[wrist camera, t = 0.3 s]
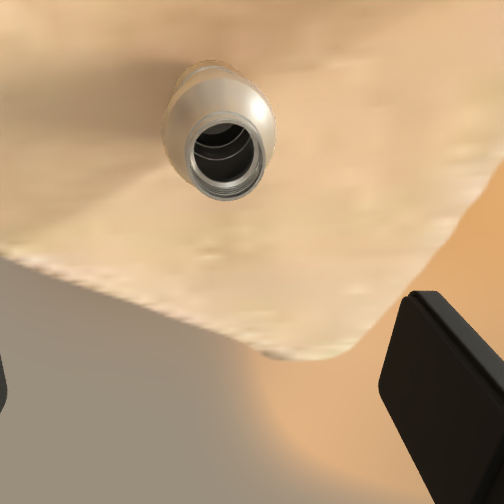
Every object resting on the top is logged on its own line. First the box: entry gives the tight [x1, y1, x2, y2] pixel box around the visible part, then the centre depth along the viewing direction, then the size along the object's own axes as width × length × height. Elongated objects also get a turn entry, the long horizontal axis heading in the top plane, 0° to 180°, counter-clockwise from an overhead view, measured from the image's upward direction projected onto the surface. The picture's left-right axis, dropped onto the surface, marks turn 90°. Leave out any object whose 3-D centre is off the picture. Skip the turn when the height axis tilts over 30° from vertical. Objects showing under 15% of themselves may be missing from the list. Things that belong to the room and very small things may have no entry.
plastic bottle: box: [162, 60, 277, 201], centre depth 28 cm, size 6×7×20 cm
